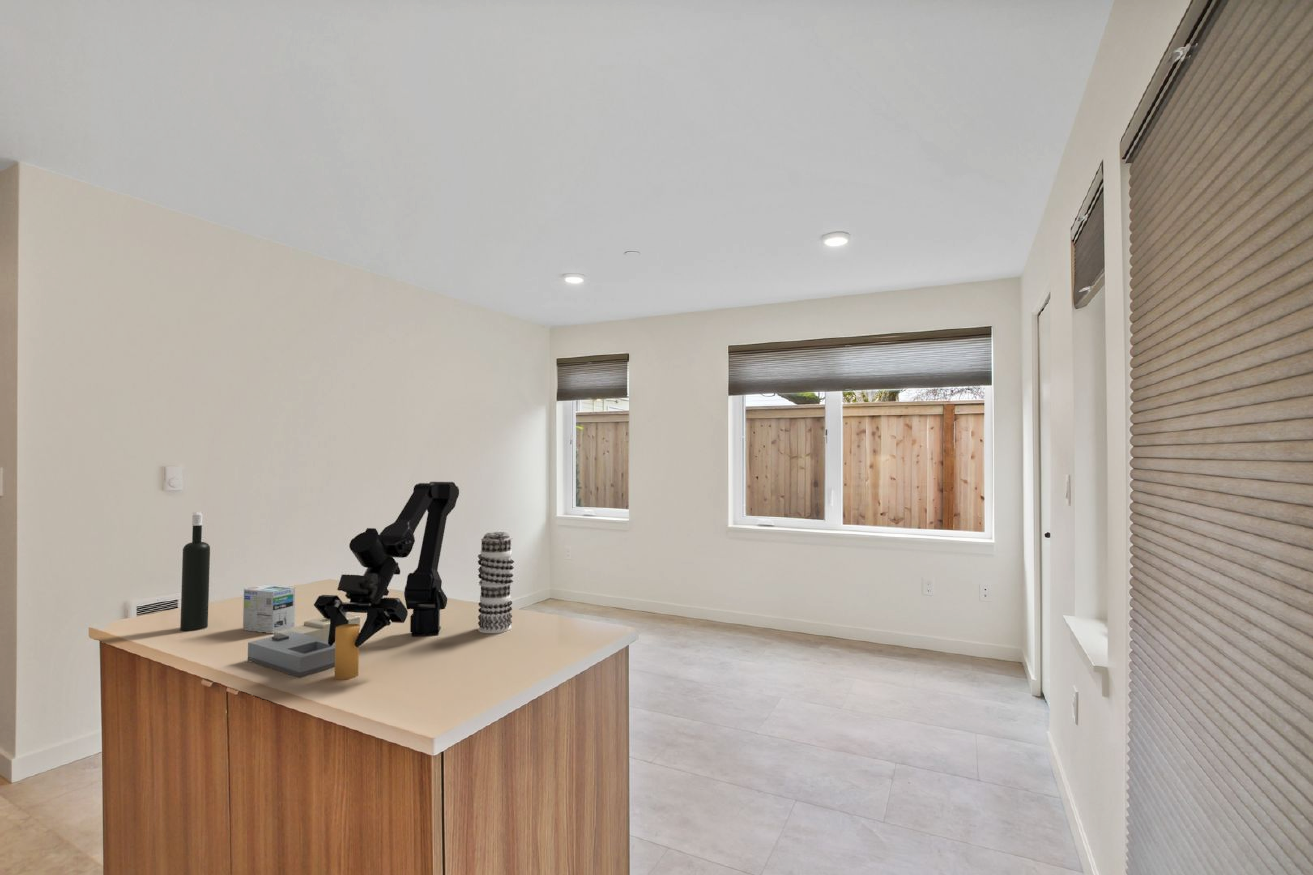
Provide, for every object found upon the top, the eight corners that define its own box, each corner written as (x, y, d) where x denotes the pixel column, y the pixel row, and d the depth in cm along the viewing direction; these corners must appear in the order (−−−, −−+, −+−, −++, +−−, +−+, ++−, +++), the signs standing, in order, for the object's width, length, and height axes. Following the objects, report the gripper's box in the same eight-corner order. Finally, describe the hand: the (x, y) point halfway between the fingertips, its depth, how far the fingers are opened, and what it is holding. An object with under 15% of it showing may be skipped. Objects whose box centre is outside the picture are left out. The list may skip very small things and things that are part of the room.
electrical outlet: (274, 627, 148) (342, 612, 164) (273, 645, 148) (341, 628, 164) (293, 631, 145) (360, 615, 161) (292, 649, 145) (360, 631, 161)
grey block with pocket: (346, 663, 136) (346, 642, 136) (300, 677, 127) (300, 654, 128) (293, 649, 146) (293, 629, 146) (247, 660, 138) (248, 639, 138)
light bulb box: (295, 627, 164) (296, 586, 165) (272, 634, 158) (273, 591, 158) (265, 624, 168) (266, 583, 168) (241, 630, 161) (242, 588, 162)
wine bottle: (183, 626, 165) (187, 511, 166) (209, 624, 167) (213, 511, 168) (177, 632, 159) (181, 513, 160) (205, 629, 162) (208, 512, 163)
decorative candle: (472, 627, 166) (473, 532, 167) (506, 622, 171) (507, 530, 172) (482, 635, 158) (484, 536, 159) (518, 630, 163) (519, 533, 164)
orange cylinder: (360, 671, 131) (361, 623, 132) (355, 678, 127) (356, 629, 127) (337, 673, 130) (338, 624, 131) (331, 680, 126) (333, 630, 126)
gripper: (320, 557, 135) (281, 622, 123) (401, 559, 132) (369, 626, 121) (343, 586, 142) (308, 650, 131) (420, 589, 139) (391, 655, 128)
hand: (342, 645), depth 127 cm, fingers open, 6 cm apart
